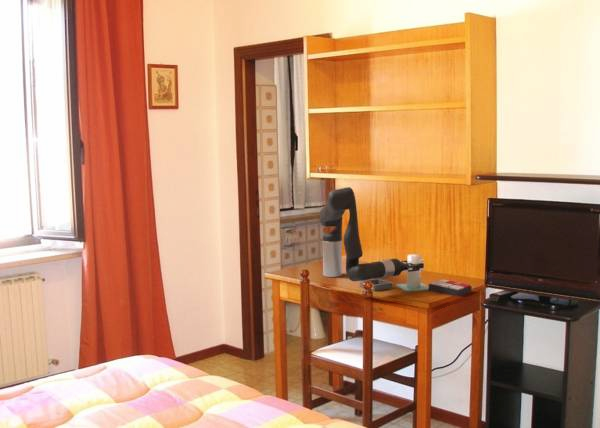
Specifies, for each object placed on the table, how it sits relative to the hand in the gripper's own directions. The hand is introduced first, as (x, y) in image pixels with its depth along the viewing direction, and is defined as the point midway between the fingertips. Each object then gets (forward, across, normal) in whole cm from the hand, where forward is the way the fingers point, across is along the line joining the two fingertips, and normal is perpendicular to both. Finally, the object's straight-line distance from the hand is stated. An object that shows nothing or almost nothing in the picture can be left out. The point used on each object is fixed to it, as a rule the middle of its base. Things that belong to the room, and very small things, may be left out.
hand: (416, 263), depth 306 cm
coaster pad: (-2, 0, +11) cm, 11 cm away
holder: (-15, +10, +11) cm, 21 cm away
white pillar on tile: (-1, 0, +10) cm, 10 cm away
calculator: (+6, -14, +11) cm, 19 cm away
